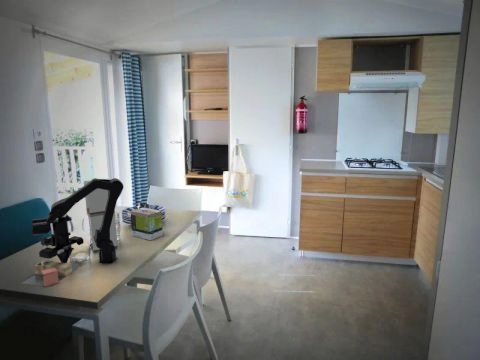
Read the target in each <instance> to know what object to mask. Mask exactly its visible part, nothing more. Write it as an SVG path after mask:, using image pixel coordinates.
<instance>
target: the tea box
mask: <svg viewBox="0 0 480 360" xmlns="http://www.w3.org/2000/svg"><path fill="white" fill-rule="evenodd" d="M162 212H163V211H162V210H161V209H160V210H159V209H154V208H149V207H141V208H136V209H133V210H130V222H131V223H130V224H131V225H130V226H131V236H133V237H136V238H140V239H144V240H148V241H153V240H155V239H158V238H160V237H162V236H164V235H163V216H162V214H163V213H162Z"/></svg>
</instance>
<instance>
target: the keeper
mask: <svg viewBox="0 0 480 360" xmlns="http://www.w3.org/2000/svg"><path fill="white" fill-rule="evenodd" d="M41 273H42V274H43V279H44V287H50V286H49V285H52V284H55V285H56V284H59V283H60V281H58V272H57V270H56V268H55V267H54V268H51V269H47V270H43V271H41Z"/></svg>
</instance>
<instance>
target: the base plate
mask: <svg viewBox="0 0 480 360" xmlns="http://www.w3.org/2000/svg"><path fill="white" fill-rule="evenodd" d="M71 265H72V272H71V273H70V274H72V273H74V272H75V271H76V270H77V269H79V268H80V267H82V266H83V264H81V263H71ZM64 278H67V276H58V281H59V282H61V281H62V280H63V279H64ZM21 284H24V285H32V286H34V285H35V286H44V279H43V275H38V274H34V275H32V276H31V277H30V278H27V279H26V280H24V281H23V282H21ZM55 285H56V284H52V285H49V286H48V287H53V286H55ZM44 287H45V286H44Z"/></svg>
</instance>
